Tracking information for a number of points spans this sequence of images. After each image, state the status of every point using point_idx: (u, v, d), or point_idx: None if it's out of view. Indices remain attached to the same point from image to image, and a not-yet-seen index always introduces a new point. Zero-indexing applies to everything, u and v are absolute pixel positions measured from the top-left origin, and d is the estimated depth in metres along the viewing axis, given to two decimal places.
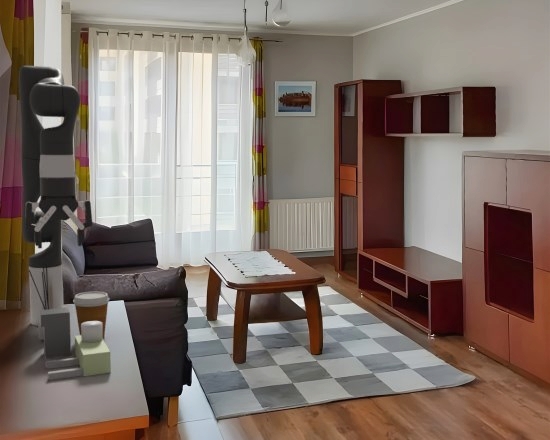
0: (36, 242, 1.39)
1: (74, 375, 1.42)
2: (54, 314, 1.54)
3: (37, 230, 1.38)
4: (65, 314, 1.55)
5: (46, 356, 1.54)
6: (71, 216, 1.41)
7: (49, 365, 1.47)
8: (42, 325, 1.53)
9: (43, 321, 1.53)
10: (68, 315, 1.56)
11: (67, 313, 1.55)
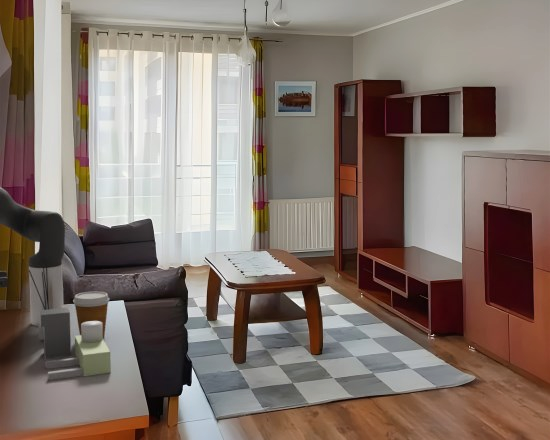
0: None
1: (74, 375, 1.42)
2: (54, 314, 1.54)
3: None
4: (65, 314, 1.55)
5: (46, 356, 1.54)
6: None
7: (49, 365, 1.47)
8: (42, 325, 1.53)
9: (43, 321, 1.53)
10: (68, 315, 1.56)
11: (67, 313, 1.55)
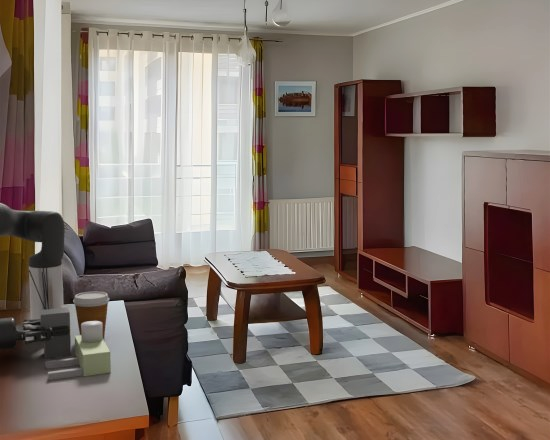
0: None
1: (74, 375, 1.42)
2: (54, 314, 1.54)
3: None
4: (65, 314, 1.55)
5: (46, 356, 1.54)
6: None
7: (49, 365, 1.47)
8: (42, 325, 1.53)
9: (43, 321, 1.53)
10: (68, 315, 1.56)
11: (67, 313, 1.55)
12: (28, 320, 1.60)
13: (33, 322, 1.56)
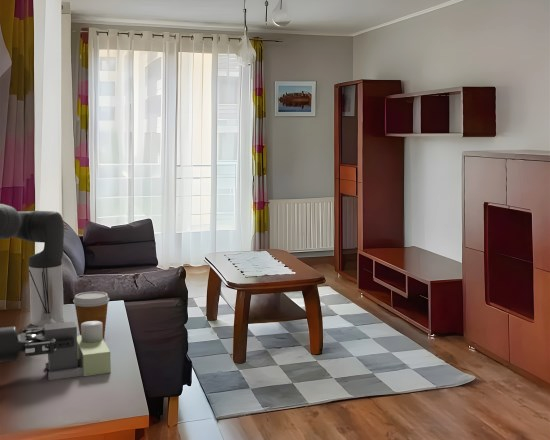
0: None
1: (74, 375, 1.42)
2: (60, 329, 1.42)
3: None
4: (72, 329, 1.43)
5: None
6: None
7: None
8: None
9: (48, 337, 1.41)
10: (75, 330, 1.43)
11: (74, 328, 1.43)
12: (28, 329, 1.47)
13: (36, 331, 1.44)
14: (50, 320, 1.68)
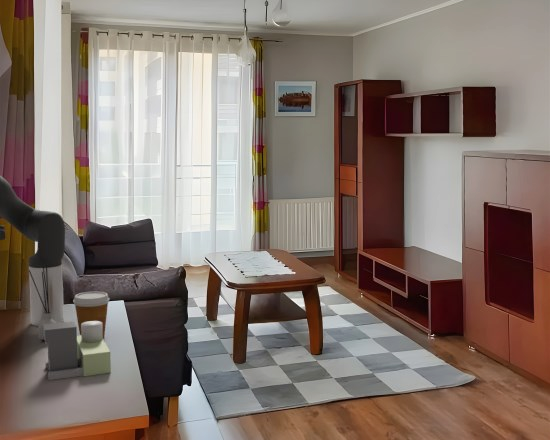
0: None
1: (74, 375, 1.42)
2: (59, 329, 1.42)
3: None
4: (71, 329, 1.43)
5: None
6: None
7: None
8: (46, 341, 1.41)
9: (48, 337, 1.41)
10: (75, 330, 1.43)
11: (74, 328, 1.43)
12: None
13: None
14: (50, 320, 1.68)
